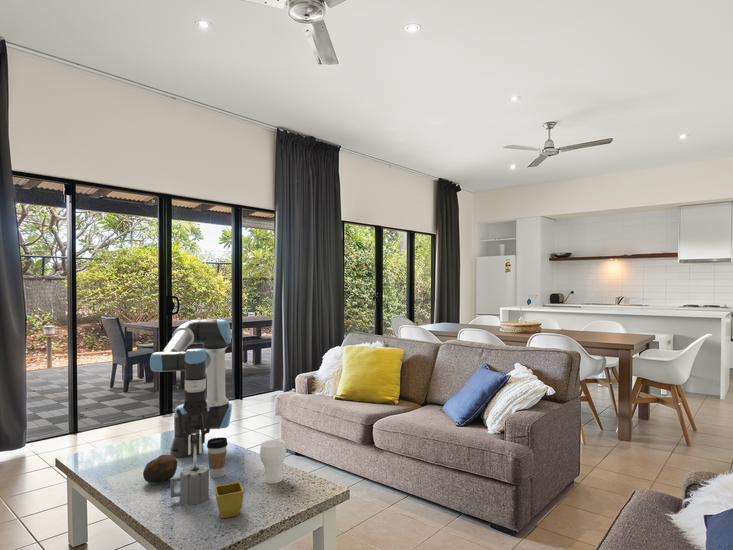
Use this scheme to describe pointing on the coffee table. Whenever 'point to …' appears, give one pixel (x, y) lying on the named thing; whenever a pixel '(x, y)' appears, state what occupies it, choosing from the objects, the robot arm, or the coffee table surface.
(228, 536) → the coffee table surface
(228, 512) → the flower pot
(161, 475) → the rock
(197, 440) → the plunger
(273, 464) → the cup
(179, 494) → the press carafe
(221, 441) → the coffee cup
